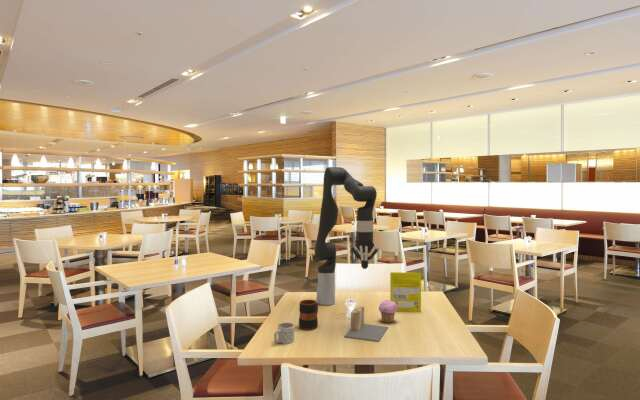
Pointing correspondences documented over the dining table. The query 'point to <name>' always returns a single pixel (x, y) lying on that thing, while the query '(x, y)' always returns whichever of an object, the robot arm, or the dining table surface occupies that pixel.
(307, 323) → the mug
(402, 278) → the food package
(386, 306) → the cupcake
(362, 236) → the robot arm
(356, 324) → the wooden block
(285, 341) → the mug
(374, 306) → the dining table surface
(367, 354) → the dining table surface
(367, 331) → the mat
